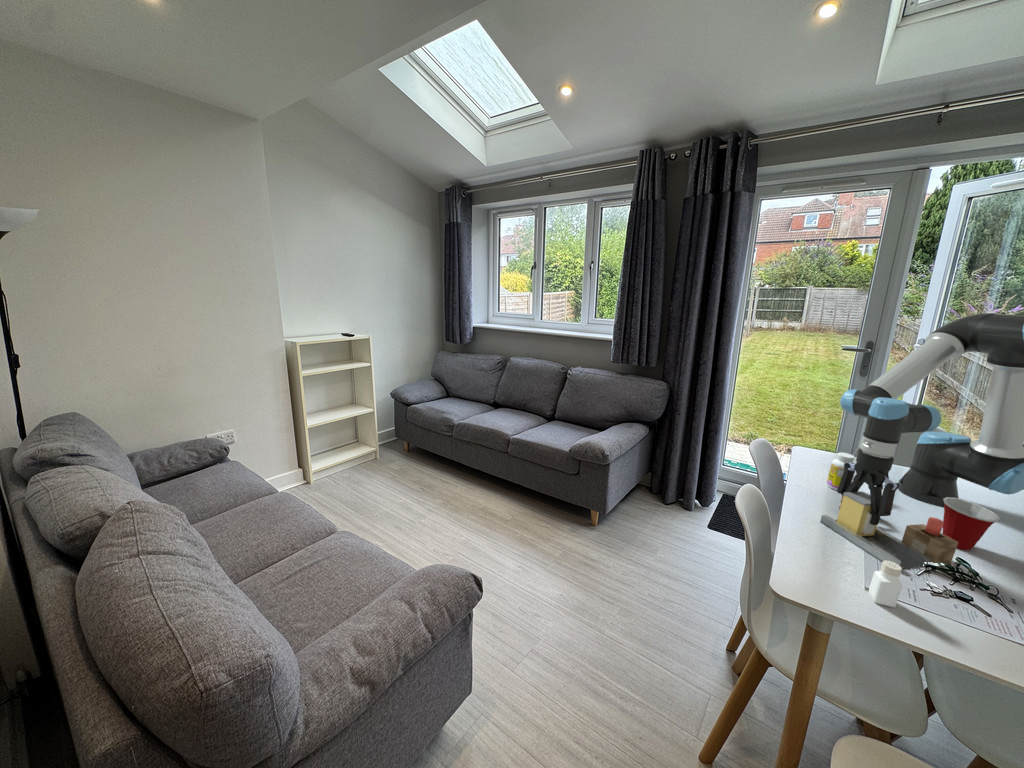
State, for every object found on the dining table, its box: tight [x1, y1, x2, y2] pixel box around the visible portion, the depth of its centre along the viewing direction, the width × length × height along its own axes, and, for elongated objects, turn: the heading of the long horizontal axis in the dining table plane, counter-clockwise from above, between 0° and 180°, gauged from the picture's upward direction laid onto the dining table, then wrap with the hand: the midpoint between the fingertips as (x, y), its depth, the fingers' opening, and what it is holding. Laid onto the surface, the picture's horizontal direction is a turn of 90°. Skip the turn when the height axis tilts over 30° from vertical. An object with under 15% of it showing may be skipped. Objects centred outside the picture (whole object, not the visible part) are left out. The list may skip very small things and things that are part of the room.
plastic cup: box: [941, 497, 1001, 552], centre depth 113 cm, size 11×11×12 cm
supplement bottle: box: [826, 452, 856, 491], centre depth 144 cm, size 7×7×13 cm
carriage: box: [836, 491, 878, 536], centre depth 117 cm, size 7×6×11 cm
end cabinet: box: [901, 523, 958, 566], centre depth 108 cm, size 6×8×7 cm
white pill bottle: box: [868, 560, 903, 608], centre depth 92 cm, size 4×4×10 cm
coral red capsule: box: [925, 516, 944, 536], centre depth 107 cm, size 3×3×4 cm
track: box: [820, 514, 931, 570], centre depth 114 cm, size 11×21×2 cm, turn 10°
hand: (855, 525), depth 118 cm, fingers closed on carriage, 6 cm apart
